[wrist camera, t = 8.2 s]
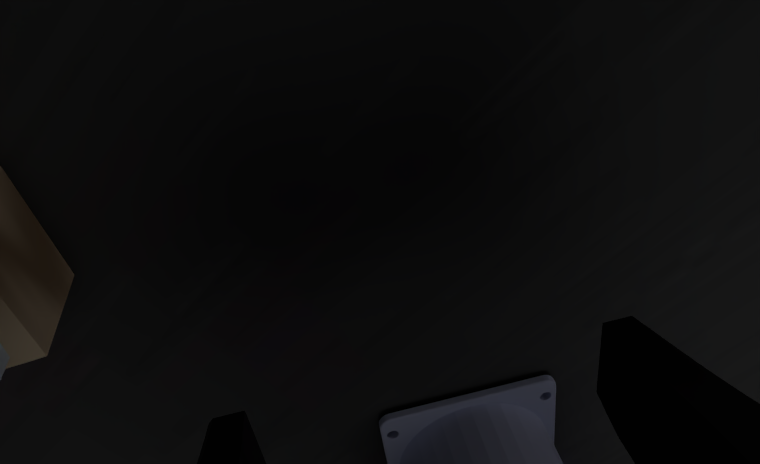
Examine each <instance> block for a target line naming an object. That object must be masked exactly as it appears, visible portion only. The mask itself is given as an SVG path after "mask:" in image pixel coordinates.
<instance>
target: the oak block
mask: <svg viewBox="0 0 760 464" xmlns="http://www.w3.org/2000/svg"><path fill="white" fill-rule="evenodd" d="M73 278H74V273H73V272H72V270H71V269H70V267H69V266H68V264H67V263H66V262H65V260H64V259H63V257H62V256H61V254H60V253H59V251H58V250H57V248H56V247H55V245H54V244H53V242H52V241H51V239H50V238H49V236H48V235H47V234H46V232H45V231H44V229H43V228H42V226H41V225H40V223H39V222H38V220H37V219H36V217H35V216H34V214H33V213H32V211H31V210H30V208H29V207H28V206H27V204H26V203H25V201H24V200H23V198H22V197H21V195H20V194H19V192H18V191H17V189H16V188H15V186H14V185H13V183H12V182H11V181H10V179H9V178H8V176H7V175H6V173H5V172H4V170H3V169H2V167H1V166H0V343H1V345H2V346H3V348H4V349H5V351H6V352H7V354H8V355H9V357H10V358H9V360H8V363H7V365H6V368H5V369H7V368H10V367H13V366H16V365H19V364H23V363H26V362H29V361H32V360H36V359H39V358H42V357H45V356H47V355H48V352H49V349H50V346H51V343H52V340H53V337H54V334H55V331H56V328H57V325H58V322H59V319H60V316H61V313H62V310H63V307H64V304H65V301H66V298H67V296H68V293H69V290H70V287H71V284H72V281H73Z"/></svg>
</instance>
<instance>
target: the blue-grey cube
mask: <svg viewBox="0 0 760 464" xmlns="http://www.w3.org/2000/svg"><path fill="white" fill-rule="evenodd" d="M9 358H10V357H9V355H8V354H7V352H6V351H5V349H4V348H3V346H2V345H1V343H0V380H1V378H2V375H3V373H4V370H5V368H6V365H7V363H8V360H9Z"/></svg>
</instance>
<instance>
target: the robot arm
mask: <svg viewBox="0 0 760 464" xmlns="http://www.w3.org/2000/svg"><path fill="white" fill-rule="evenodd" d="M597 394H598V396H599V398H600V400H601V402H602V404H603V406H604V408H605V411H606V413H607V415H608V417H609V419H610V421H611V423H612V425H613V427H614V429H615V431H616V433H617V435H618V437H619V439H620V440H621V442H622V443H623V445H624V447H625V448H626V450H627V451H628V453H629V455H630V456H631V458H632V459H633V461H634V462H635V464H760V404H759V403H757V402H756V401H754V400H753V399H751V398H749V397H748V396H746V395H745V394H743V393H742V392H740V391H739V390H737V389H736V388H734V387H733V386H731V385H730V384H728V383H727V382H725V381H724V380H722V379H721V378H719V377H718V376H716V375H715V374H713V373H712V372H710V371H709V370H707V369H706V368H704V367H703V366H702V365H700V364H699V363H697V362H696V361H694V360H693V359H692V358H690V357H689V356H687V355H686V354H684V353H683V352H682V351H680V350H679V349H677V348H676V347H675V346H673V345H672V344H670V343H669V342H668V341H666V340H665V339H663V338H662V337H661V336H659V335H658V334H656V333H655V332H654V331H652V330H651V329H650V328H648V327H647V326H645V325H644V324H642V323H641V322H640V321H638V320H637V319H635V318H634V317H632V316H630V317H626V318H622V319H617V320H613V321H609V322H605V323H603V327H602V338H601V349H600V360H599V371H598V381H597ZM555 404H556V383H555V381H554V379H553V377H551V376H550V375H541V376H537V377H533V378H529V379H525V380H521V381H517V382H513V383H509V384H505V385H501V386H497V387H493V388H489V389H485V390H481V391H477V392H473V393H469V394H465V395H461V396H457V397H453V398H449V399H445V400H441V401H437V402H433V403H429V404H425V405H421V406H417V407H413V408H409V409H405V410H401V411H397V412H393V413H389V414H386V415H384V416H383V417H382V418H381V419H380V420H379V427H380V432H381V437H382V441H383V446H384V450H385V455H386V460H387V464H563V462H562V460H561V458H560V456H559V454H558V452H557V450H556V448H555V446H554V432H555ZM197 464H266V462H265V460H264V457H263V455H262V453H261V450H260V448H259V445H258V443H257V440H256V438H255V435H254V433H253V430H252V428H251V425H250V423H249V420H248V418H247V415H246V413H245V411H242V412H238V413H233V414H229V415H225V416H221V417H217V418H213V419H212V420H211V422H210V423H209V425H208V429H207V432H206V436H205V440H204V443H203V446H202V450H201V453H200V456H199V459H198V462H197Z"/></svg>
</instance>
